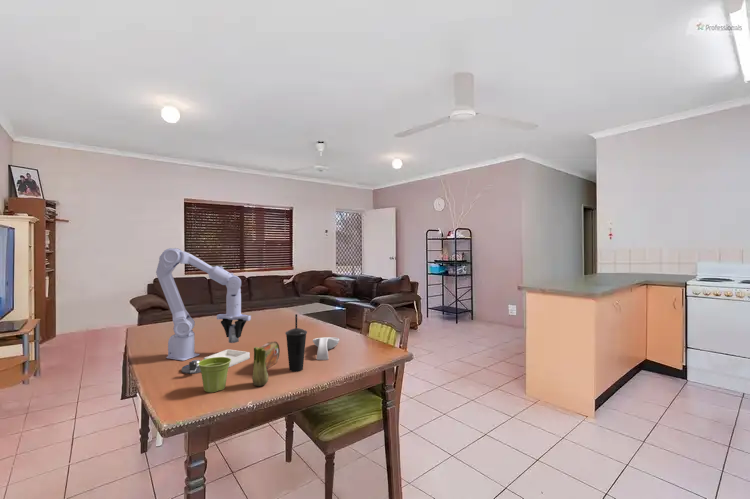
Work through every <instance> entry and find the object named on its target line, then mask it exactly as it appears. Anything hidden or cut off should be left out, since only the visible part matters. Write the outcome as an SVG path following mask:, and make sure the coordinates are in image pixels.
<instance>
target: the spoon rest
mask: <svg viewBox="0 0 750 499" xmlns="http://www.w3.org/2000/svg"><path fill="white" fill-rule="evenodd" d="M339 342H340V338H339V337H333V336H331V337H330V336H328V337H327V336H326V337H317V338H313V339H312V343H313V344H314V346H316V347H317V352H316V360H317V361H326V360H329V350H332V349H334V348H335V347H336V346H337V345H338V344H339Z"/></svg>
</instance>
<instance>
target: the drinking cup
mask: <svg viewBox="0 0 750 499" xmlns="http://www.w3.org/2000/svg"><path fill="white" fill-rule="evenodd" d="M294 317H295V319H294V320H295V322H294V323H295V325H294V326H295V328H291V329H289V330H287V331H285V332H284V333H285V337H286V346H287V347H286V348H287V356H288V357H287V358H288V359H287V361H288V369H289V371H290V372H291V373H294V372H298V373H299V372H302V371H303V370H304V360H305V352H306V339H307V334H308V331H307V330H305V329H304V328H300V327H299V328H298V314H295V316H294Z"/></svg>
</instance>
